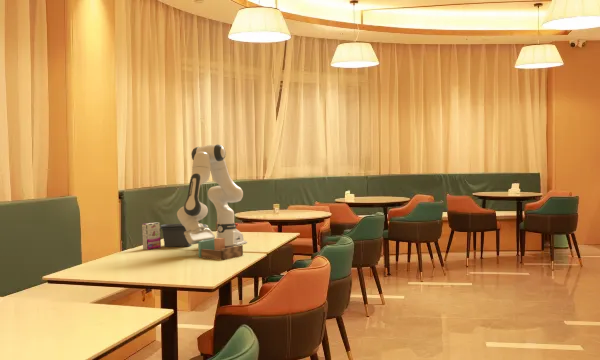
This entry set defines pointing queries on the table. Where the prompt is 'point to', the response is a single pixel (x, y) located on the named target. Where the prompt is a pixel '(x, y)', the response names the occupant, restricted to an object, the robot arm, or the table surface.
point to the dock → (223, 252)
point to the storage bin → (174, 235)
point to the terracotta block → (219, 243)
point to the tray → (206, 245)
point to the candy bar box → (151, 236)
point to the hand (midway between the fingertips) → (207, 247)
